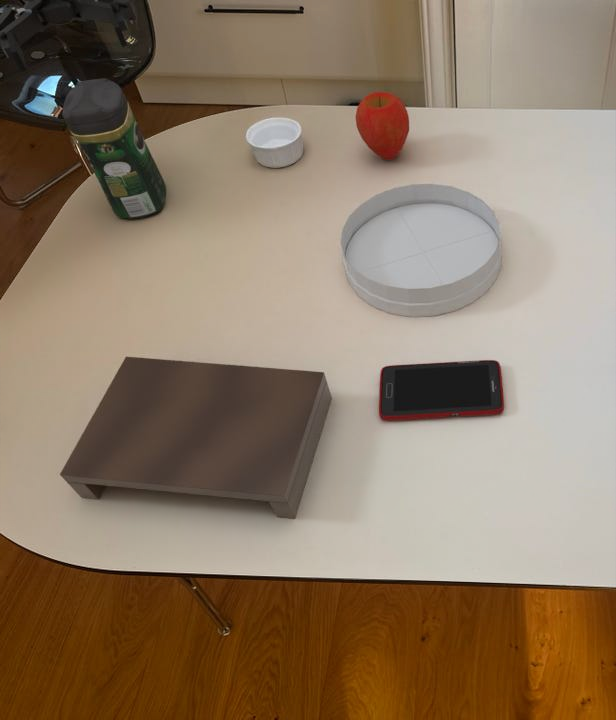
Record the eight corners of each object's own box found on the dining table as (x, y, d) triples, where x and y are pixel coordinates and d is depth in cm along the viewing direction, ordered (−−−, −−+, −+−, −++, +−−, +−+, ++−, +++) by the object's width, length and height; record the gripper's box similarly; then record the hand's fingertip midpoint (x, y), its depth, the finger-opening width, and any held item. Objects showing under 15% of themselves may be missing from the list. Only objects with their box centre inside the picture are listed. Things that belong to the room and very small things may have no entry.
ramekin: (271, 135, 120) (264, 112, 117) (316, 145, 118) (311, 122, 115) (242, 164, 115) (234, 141, 112) (289, 175, 113) (282, 152, 110)
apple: (351, 156, 116) (339, 96, 108) (391, 135, 120) (383, 75, 111) (383, 179, 112) (373, 118, 104) (424, 157, 115) (418, 96, 107)
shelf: (81, 498, 77) (59, 474, 73) (142, 382, 87) (125, 356, 83) (295, 519, 75) (283, 496, 71) (332, 397, 85) (324, 371, 81)
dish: (374, 338, 91) (368, 311, 87) (326, 235, 103) (319, 208, 100) (528, 286, 96) (530, 258, 92) (464, 194, 109) (463, 167, 105)
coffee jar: (117, 187, 112) (61, 77, 98) (169, 179, 113) (121, 69, 99) (111, 225, 106) (51, 114, 92) (166, 217, 107) (114, 105, 93)
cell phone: (381, 370, 87) (380, 365, 86) (500, 363, 87) (500, 358, 86) (379, 422, 82) (377, 417, 81) (504, 415, 82) (504, 410, 82)
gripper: (141, -3, 117) (170, 52, 105) (-22, 34, 110) (-10, 98, 98) (122, -52, 111) (150, 0, 99) (-51, -16, 104) (-43, 45, 92)
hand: (71, 49), depth 98 cm, fingers open, 13 cm apart
